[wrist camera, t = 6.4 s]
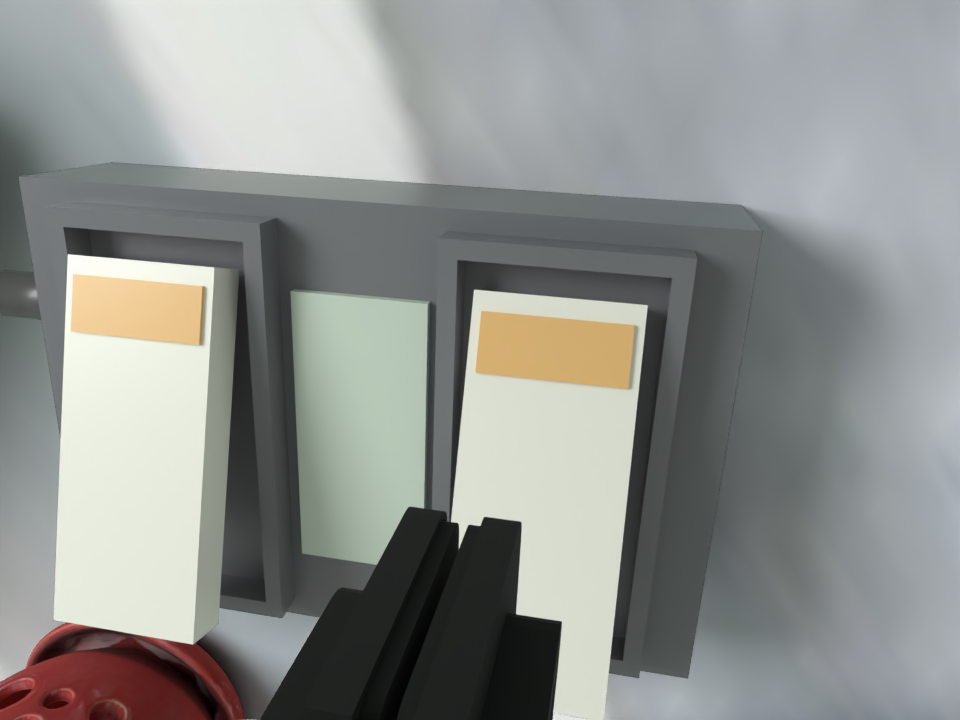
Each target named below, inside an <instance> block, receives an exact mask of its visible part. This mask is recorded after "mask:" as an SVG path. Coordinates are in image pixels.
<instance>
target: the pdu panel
mask: <svg viewBox="0 0 960 720" xmlns="http://www.w3.org/2000/svg"><path fill="white" fill-rule="evenodd" d="M19 184H20V190H21V196H22V202H23V209H24V215H25V221H26V227H27V234H28V240H29V246H30V252H31V258H32V265H33V271H34V272H23V271H13V270H4V271H1V272H0V314H1V315H5V316H14V317H23V318H33V319H41V321H42V327H43V333H44V339H45V346H46V352H47V358H48V364H49V371H50V377H51V383H52V389H53V396H54V402H55V408H56V414H57V421H58V427H59V433H60V439H61V416H62V391H63V365H64V339H65V314H66V288H67V263H68V254H70V255H83V256H95V257H106V258H118V259H129V260H140V261H151V262H162V263H173V264H184V265H195V266H206V267H217V268H228V269H239V286H238V303H237V320H236V337H235V354H234V370H233V387H232V404H231V421H230V437H229V454H228V471H227V488H226V504H225V521H224V538H223V555H222V572H221V588H220V605H219V608H224V609H230V610H236V611H242V612H248V613H254V614H260V615H266V616H272V617H278V618H282V617H283V616H284V614H285V613H286V612H291V613H297V614H303V615H309V616H315V617H321V615H322V613H323V612H324V610H325V608H326V606H327V605H328V603H329V601H330V600H331V598H332V596H333V595H334V594H335V592H336V591H337V590H338V589H340V588H342V587H344V588H350V589H357V590H364V588H365V586H366V584H367V582H368V581H369V579H370V577H371V575H372V573H373V571H374V569H375V567H376V566H377V564H378V562H379V560H380V558H381V556H382V554H383V552H384V551H385V549H386V547H387V545H388V543H389V541H390V539H391V537H392V536H393V534H394V532H395V530H396V528H397V526H398V524H399V523H400V521H401V519H402V517H403V515H404V513H405V511H406V510H407V508H408V507H417V508H425V509H432V510H440V511H445V512H446V513H447V522H451V517H452V507H453V497H454V487H455V476H456V466H457V456H458V446H459V436H460V426H461V416H462V406H463V396H464V386H465V376H466V366H467V356H468V345H469V335H470V325H471V315H472V305H473V295H474V290H484V291H495V292H506V293H517V294H528V295H539V296H551V297H562V298H573V299H584V300H595V301H606V302H617V303H628V304H639V305H648V308H647V317H646V327H645V336H644V346H643V355H642V364H641V374H640V383H639V393H638V402H637V411H636V421H635V430H634V440H633V449H632V458H631V468H630V477H629V487H628V496H627V505H626V515H625V524H624V534H623V543H622V552H621V562H620V571H619V580H618V590H617V599H616V609H615V618H614V627H613V637H612V646H611V656H610V665H609V673H611V674H617V675H623V676H629V677H635V678H639V673H640V671H646V672H652V673H658V674H664V675H670V676H676V677H682V678H688V675H689V669H690V663H691V657H692V651H693V645H694V639H695V633H696V627H697V621H698V615H699V609H700V603H701V597H702V591H703V585H704V579H705V573H706V567H707V561H708V555H709V549H710V543H711V537H712V531H713V525H714V519H715V513H716V507H717V501H718V495H719V489H720V483H721V477H722V471H723V465H724V459H725V453H726V447H727V441H728V435H729V429H730V423H731V417H732V411H733V405H734V399H735V393H736V387H737V381H738V375H739V369H740V363H741V357H742V351H743V345H744V339H745V333H746V327H747V321H748V316H749V310H750V304H751V298H752V292H753V286H754V280H755V274H756V268H757V262H758V256H759V250H760V244H761V238H762V232H763V231H762V230H761V228H760V227H759V226H758V225H757V224H756V222H755V221H754V220H753V219H752V218H751V216H750V215H749V214H748V213H747V211H746V210H745V209H744V208H743V207H742V205H731V204H716V203H702V202H687V201H672V200H657V199H643V198H628V197H613V196H599V195H584V194H569V193H554V192H540V191H525V190H510V189H496V188H481V187H466V186H451V185H437V184H422V183H407V182H392V181H378V180H363V179H348V178H334V177H319V176H304V175H289V174H275V173H260V172H245V171H231V170H216V169H201V168H186V167H172V166H157V165H142V164H128V163H113V162H111V163H105V164H98V165H92V166H85V167H79V168H72V169H66V170H59V171H53V172H46V173H39V174H33V175H26V176H20V177H19Z"/></svg>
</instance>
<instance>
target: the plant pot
mask: <svg viewBox="0 0 960 720" xmlns="http://www.w3.org/2000/svg"><path fill="white" fill-rule="evenodd" d="M244 719H245V717H244V713H243V709H242V706H241V703H240V700H239V698H238V695H237V693H236V691H235V689H234V687H233V685H232V684H231V682H230V680H229V679H228V677H227V676H226V674H225V673H224V671H223V670H222V669H221V667H220V666H219V665H218V664H217V663H216V662H215V660H214V659H213V658H212V657H211V656H210V655H209V654H208V653H207V652H206V651H205V650H203V649H202V648H201V647H200V646H199V645H197V644H196V643H195V644H193V645H192V644H187V643H181V642H175V641H170V640H164V639H159V638H153V637H147V636H142V635H136V634H130V633H125V632H119V631H113V630H108V629H102V628H97V627H91V626H85V625H80V624H74V623H68V622H67V623H65V624H63V625H61V626H59V627H57V628H55V629H54V630H52V631H51V632H50V633H48V634H47V635H46V636H45V637H44V638H43V639H42V640H41V641H40V642H39V643H38V644H37V645H36V647H35V648H34V650H33V652H32V654H31V655H30V658H29V660H28V662H27V666H26V669H24V670H22V671H20V672H18V673H16V674H14V675H12V676H10V677H9V678H7V679H5V680H3V681H2V682H0V720H244Z"/></svg>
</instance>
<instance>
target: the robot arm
mask: <svg viewBox="0 0 960 720" xmlns="http://www.w3.org/2000/svg"><path fill="white" fill-rule="evenodd" d="M521 532H522V523H521V522H520V521H513V520H506V519H498V518H491V517H484V518H483V520H482V523H481V526H476V525H468V527H467V529H466V532H465V535H464V537H463V540H462V543H461V545H460V548H459V524H458V523H454V522H447V513H446V512H445V511H440V510H432V509H425V508H417V507H408V508H407V510H406V511H405V513H404V515H403V517H402V519H401V521H400V523H399V524H398V526H397V528H396V530H395V532H394V534H393V536H392V537H391V539H390V541H389V543H388V545H387V547H386V549H385V551H384V552H383V554H382V556H381V558H380V560H379V562H378V564H377V566H376V567H375V569H374V571H373V573H372V575H371V577H370V579H369V581H368V582H367V584H366V586H365V588H364V590H357V589H350V588H344V587H342V588H340V589H338V590H337V591H336V592H335V594H334V595H333V596H332V598H331V600H330V601H329V603H328V605H327V606H326V608H325V610H324V612H323V613H322V615H321V617H320V618H319V620H318V622H317V623H316V625H315V627H314V629H313V630H312V632H311V634H310V635H309V637H308V639H307V640H306V642H305V644H304V646H303V647H302V649H301V651H300V652H299V654H298V656H297V658H296V659H295V661H294V663H293V664H292V666H291V668H290V669H289V671H288V673H287V675H286V676H285V678H284V680H283V681H282V683H281V685H280V686H279V688H278V690H277V692H276V693H275V695H274V697H273V698H272V700H271V702H270V704H269V705H268V707H267V709H266V710H265V712H264V714H263V715H262V717H261V719H260V720H552V718H553V709H554V700H555V691H556V682H557V672H558V662H559V651H560V641H561V629H562V621H556V620H549V619H543V618H537V617H530V616H524V615H517V614H516V607H517V592H518V578H519V563H520V548H521ZM244 720H256V719H244Z"/></svg>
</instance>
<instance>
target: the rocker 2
mask: <svg viewBox="0 0 960 720" xmlns="http://www.w3.org/2000/svg"><path fill="white" fill-rule="evenodd" d="M647 308H648V305H639V304H628V303H617V302H606V301H595V300H584V299H573V298H562V297H551V296H539V295H528V294H517V293H506V292H495V291H484V290H474V295H473V305H472V315H471V325H470V335H469V345H468V356H467V366H466V376H465V386H464V396H463V406H462V416H461V426H460V436H459V446H458V456H457V466H456V476H455V487H454V497H453V507H452V517H451V522H454V523H458V524H459V548H460V545H461V543H462V540H463V537H464V535H465V532H466V529H467V527H468V525H476V526H481V523H482V520H483V518H484V517H491V518H498V519H506V520H513V521H520V522H521V523H522V532H521V548H520V563H519V578H518V592H517V607H516V614H517V615H524V616H530V617H537V618H543V619H549V620H556V621H562V629H561V641H560V651H559V662H558V672H557V682H556V691H555V700H554V709H553V713H554V714H560V715H566V716H571V717H577V718H582V719H588V720H604V712H605V703H606V693H607V684H608V674H609V665H610V656H611V646H612V637H613V627H614V618H615V609H616V599H617V590H618V580H619V571H620V562H621V552H622V543H623V534H624V524H625V515H626V505H627V496H628V487H629V477H630V468H631V458H632V449H633V440H634V430H635V421H636V411H637V402H638V393H639V383H640V374H641V364H642V355H643V346H644V336H645V327H646V317H647Z"/></svg>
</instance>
